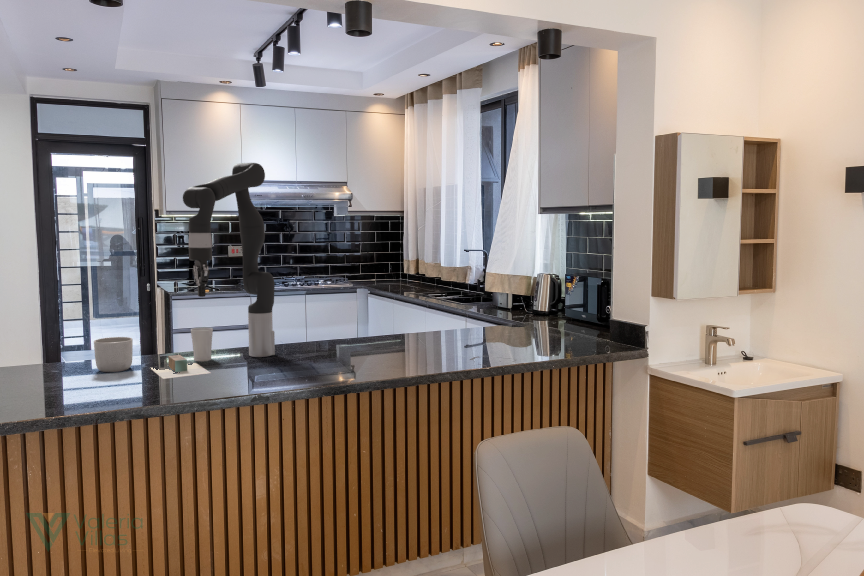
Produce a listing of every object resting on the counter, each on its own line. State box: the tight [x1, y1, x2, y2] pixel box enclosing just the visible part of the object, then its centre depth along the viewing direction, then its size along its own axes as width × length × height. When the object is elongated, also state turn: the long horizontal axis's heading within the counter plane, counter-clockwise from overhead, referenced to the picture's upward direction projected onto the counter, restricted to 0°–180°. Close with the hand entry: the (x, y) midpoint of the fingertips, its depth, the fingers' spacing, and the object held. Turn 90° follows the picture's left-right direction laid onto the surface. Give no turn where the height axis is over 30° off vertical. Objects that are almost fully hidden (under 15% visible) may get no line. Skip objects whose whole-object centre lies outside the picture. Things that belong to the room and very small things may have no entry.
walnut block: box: [167, 354, 188, 372], centre depth 238 cm, size 4×4×10 cm
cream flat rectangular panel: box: [150, 362, 211, 380], centre depth 236 cm, size 16×20×1 cm
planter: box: [93, 336, 134, 373], centre depth 236 cm, size 12×12×11 cm
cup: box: [190, 326, 214, 362], centre depth 254 cm, size 8×8×12 cm
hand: (201, 296), depth 230 cm, fingers closed
